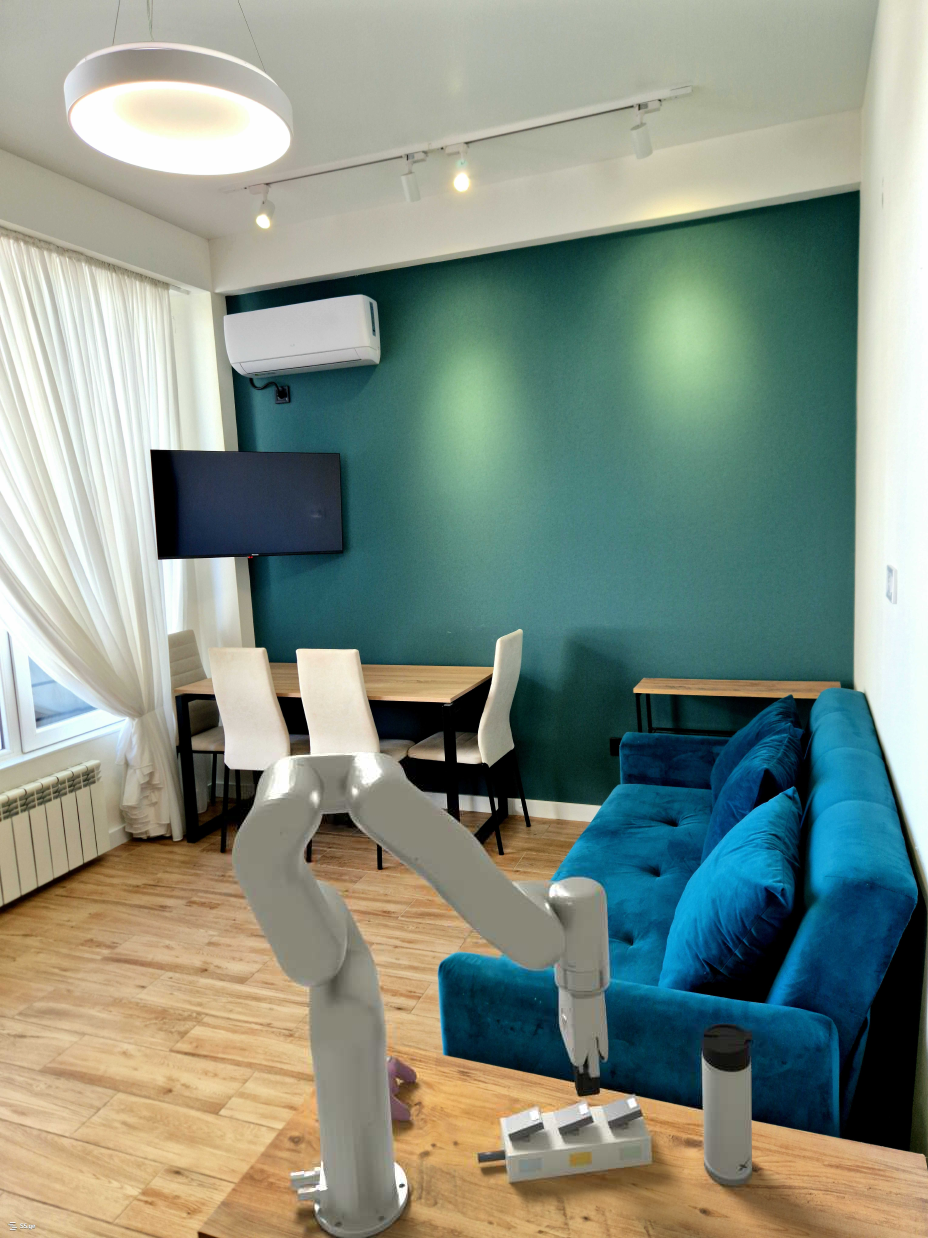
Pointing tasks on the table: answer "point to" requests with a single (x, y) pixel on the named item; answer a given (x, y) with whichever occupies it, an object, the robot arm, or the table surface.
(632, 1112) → the rocker
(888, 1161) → the table surface
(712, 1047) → the travel mug
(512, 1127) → the block
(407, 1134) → the table surface
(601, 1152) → the power strip
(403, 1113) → the video game controller
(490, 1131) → the table surface
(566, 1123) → the rocker middle
